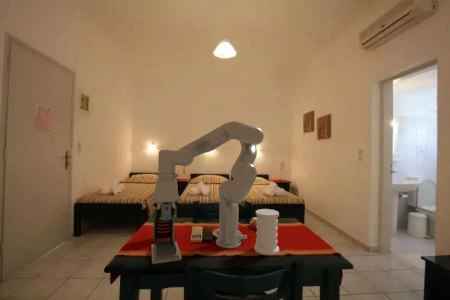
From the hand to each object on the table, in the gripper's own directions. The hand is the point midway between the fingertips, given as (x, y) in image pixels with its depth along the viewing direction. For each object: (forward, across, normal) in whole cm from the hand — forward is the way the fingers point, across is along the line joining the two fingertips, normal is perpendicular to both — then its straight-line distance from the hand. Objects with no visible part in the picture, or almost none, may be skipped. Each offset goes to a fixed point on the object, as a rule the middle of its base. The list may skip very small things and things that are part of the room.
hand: (165, 216), depth 106 cm
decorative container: (+17, -46, +10) cm, 50 cm away
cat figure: (+17, -56, -16) cm, 61 cm away
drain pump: (+1, 0, 0) cm, 1 cm away
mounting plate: (+17, 0, 0) cm, 17 cm away
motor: (+17, 0, -16) cm, 23 cm away
